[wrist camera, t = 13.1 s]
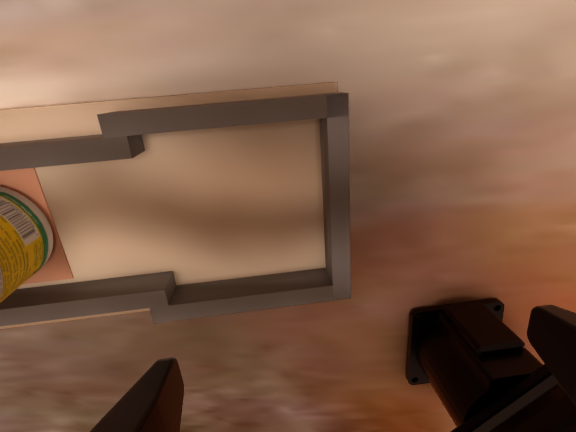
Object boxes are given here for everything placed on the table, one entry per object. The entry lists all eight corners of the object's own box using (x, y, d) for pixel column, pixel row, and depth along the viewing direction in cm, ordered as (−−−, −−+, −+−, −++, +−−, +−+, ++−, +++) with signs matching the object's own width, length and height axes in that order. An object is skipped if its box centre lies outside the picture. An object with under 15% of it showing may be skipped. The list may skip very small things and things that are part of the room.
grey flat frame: (339, 281, 22) (350, 305, 19) (-19, 325, 20) (-55, 357, 18) (334, 82, 17) (348, 81, 15) (-122, 120, 16) (-188, 125, 14)
